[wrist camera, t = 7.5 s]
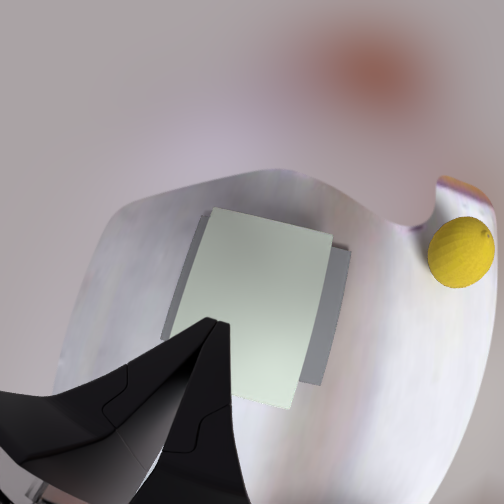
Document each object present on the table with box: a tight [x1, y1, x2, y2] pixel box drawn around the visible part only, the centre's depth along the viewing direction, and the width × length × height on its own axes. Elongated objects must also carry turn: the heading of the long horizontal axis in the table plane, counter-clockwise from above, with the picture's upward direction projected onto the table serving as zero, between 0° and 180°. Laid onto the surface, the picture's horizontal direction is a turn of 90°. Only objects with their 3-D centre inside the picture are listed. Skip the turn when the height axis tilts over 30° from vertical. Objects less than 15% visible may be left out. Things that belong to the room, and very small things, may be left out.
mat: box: [160, 216, 351, 386], centre depth 21 cm, size 11×13×1 cm
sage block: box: [169, 207, 333, 410], centre depth 18 cm, size 5×8×11 cm
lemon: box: [428, 217, 495, 288], centre depth 17 cm, size 6×6×8 cm
